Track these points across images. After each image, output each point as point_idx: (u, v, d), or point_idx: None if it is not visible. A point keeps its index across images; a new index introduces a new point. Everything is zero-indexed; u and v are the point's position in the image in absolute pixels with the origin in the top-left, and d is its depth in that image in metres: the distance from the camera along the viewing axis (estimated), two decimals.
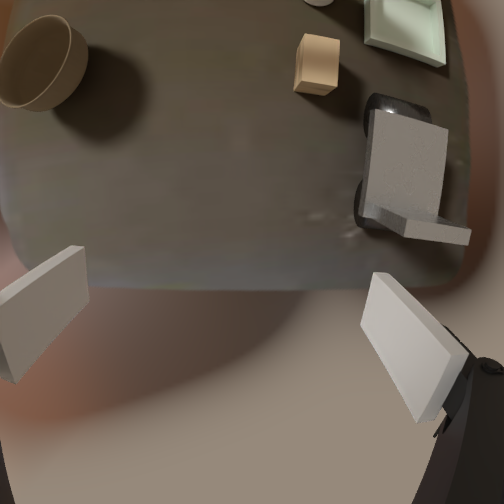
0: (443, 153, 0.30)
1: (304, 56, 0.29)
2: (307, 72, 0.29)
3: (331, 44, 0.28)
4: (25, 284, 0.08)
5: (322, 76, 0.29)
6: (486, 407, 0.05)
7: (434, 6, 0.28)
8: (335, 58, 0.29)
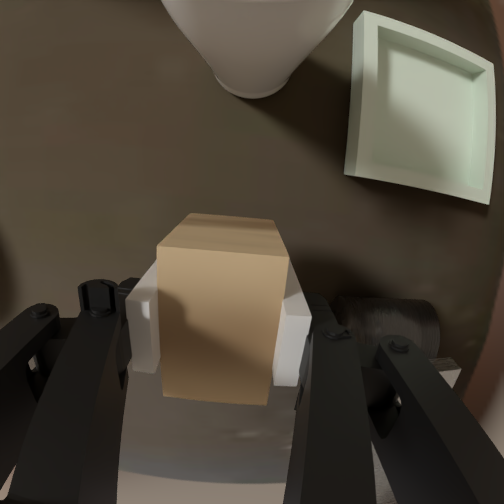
0: None
1: (162, 331, 0.10)
2: (176, 377, 0.11)
3: (255, 280, 0.10)
4: None
5: (221, 385, 0.11)
6: (333, 377, 0.06)
7: (482, 78, 0.17)
8: (266, 330, 0.10)
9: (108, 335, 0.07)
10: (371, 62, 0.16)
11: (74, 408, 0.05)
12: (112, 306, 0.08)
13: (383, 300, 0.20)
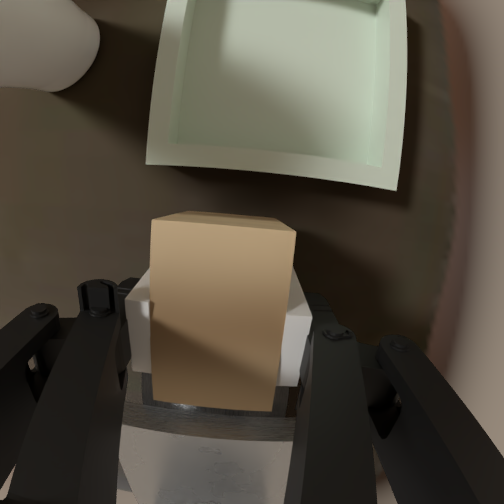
0: None
1: (153, 320, 0.09)
2: (169, 376, 0.09)
3: (259, 258, 0.09)
4: None
5: (219, 386, 0.09)
6: (333, 377, 0.06)
7: (384, 5, 0.11)
8: (271, 318, 0.09)
9: (107, 335, 0.07)
10: (176, 11, 0.11)
11: (73, 408, 0.05)
12: (111, 306, 0.08)
13: None
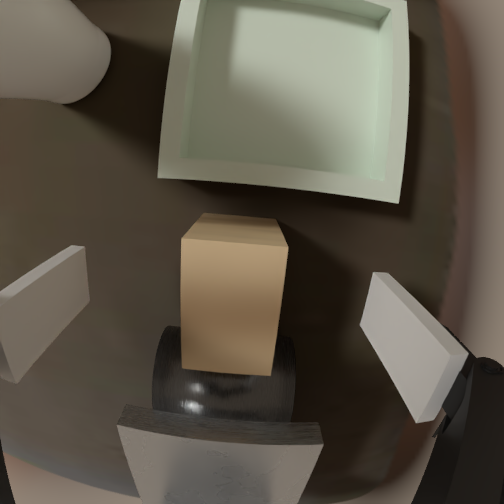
0: (302, 476, 0.14)
1: (183, 310, 0.12)
2: (194, 350, 0.13)
3: (261, 266, 0.12)
4: (25, 284, 0.08)
5: (232, 357, 0.13)
6: (485, 407, 0.05)
7: (387, 21, 0.12)
8: (270, 308, 0.12)
9: None
10: (186, 27, 0.12)
11: None
12: None
13: None
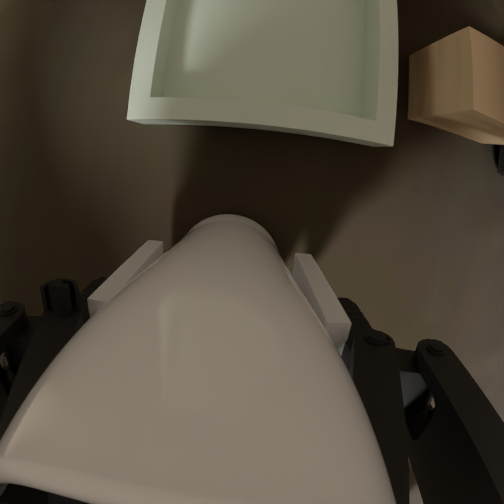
0: None
1: None
2: None
3: (484, 51, 0.08)
4: (128, 275, 0.10)
5: None
6: (373, 382, 0.06)
7: None
8: None
9: (70, 332, 0.07)
10: (220, 108, 0.12)
11: None
12: (74, 304, 0.08)
13: None
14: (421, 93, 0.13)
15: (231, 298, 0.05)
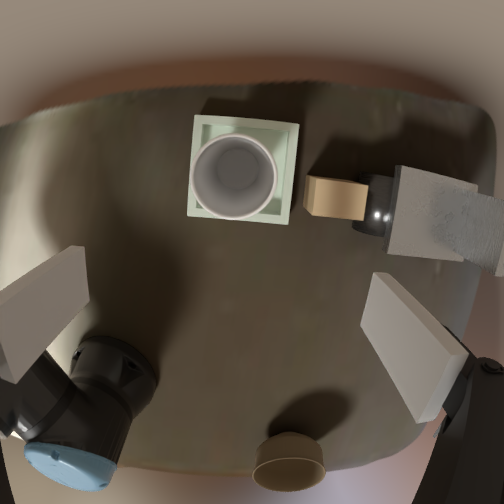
0: (423, 174, 0.30)
1: (338, 216, 0.34)
2: (355, 214, 0.33)
3: (323, 188, 0.33)
4: (25, 284, 0.08)
5: (358, 200, 0.33)
6: (486, 407, 0.05)
7: (208, 124, 0.34)
8: (338, 185, 0.33)
9: None
10: None
11: None
12: None
13: None
14: (306, 197, 0.37)
15: None
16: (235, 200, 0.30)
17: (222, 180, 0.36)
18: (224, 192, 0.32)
